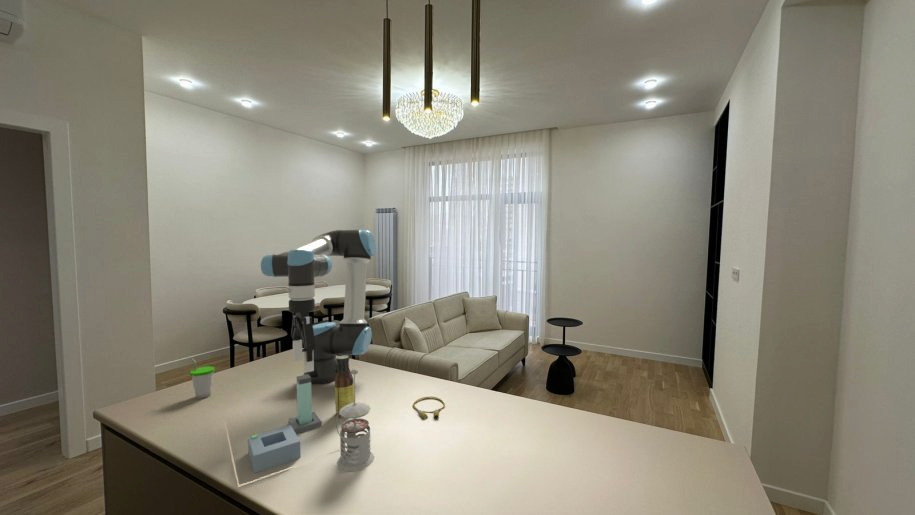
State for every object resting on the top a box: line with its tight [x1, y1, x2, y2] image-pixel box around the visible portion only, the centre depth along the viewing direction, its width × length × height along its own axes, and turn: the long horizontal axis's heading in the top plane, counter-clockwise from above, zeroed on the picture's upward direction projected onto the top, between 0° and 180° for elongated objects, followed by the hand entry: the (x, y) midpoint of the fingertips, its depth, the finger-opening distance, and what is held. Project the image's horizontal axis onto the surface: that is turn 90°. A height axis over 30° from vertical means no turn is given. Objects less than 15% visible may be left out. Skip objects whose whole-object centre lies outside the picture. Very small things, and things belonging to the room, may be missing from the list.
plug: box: [296, 374, 313, 425], centre depth 115 cm, size 4×4×16 cm
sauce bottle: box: [334, 354, 354, 418], centre depth 122 cm, size 7×6×20 cm
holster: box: [287, 411, 322, 435], centre depth 115 cm, size 8×8×2 cm
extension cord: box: [412, 396, 446, 420], centre depth 127 cm, size 12×16×2 cm
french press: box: [335, 368, 375, 472], centre depth 97 cm, size 10×12×25 cm
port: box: [247, 424, 301, 474], centre depth 99 cm, size 11×11×5 cm
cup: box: [189, 357, 216, 400], centre depth 137 cm, size 8×8×15 cm
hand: (303, 365), depth 114 cm, fingers open, 13 cm apart
